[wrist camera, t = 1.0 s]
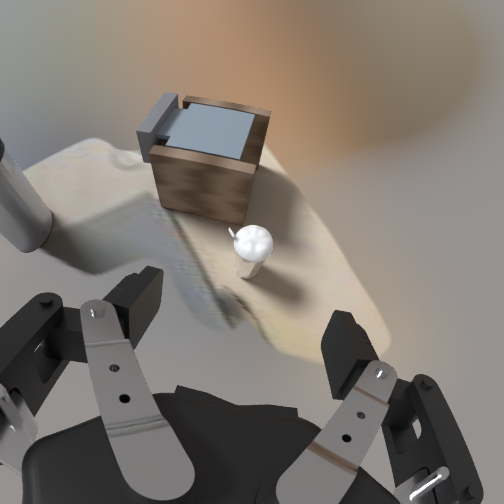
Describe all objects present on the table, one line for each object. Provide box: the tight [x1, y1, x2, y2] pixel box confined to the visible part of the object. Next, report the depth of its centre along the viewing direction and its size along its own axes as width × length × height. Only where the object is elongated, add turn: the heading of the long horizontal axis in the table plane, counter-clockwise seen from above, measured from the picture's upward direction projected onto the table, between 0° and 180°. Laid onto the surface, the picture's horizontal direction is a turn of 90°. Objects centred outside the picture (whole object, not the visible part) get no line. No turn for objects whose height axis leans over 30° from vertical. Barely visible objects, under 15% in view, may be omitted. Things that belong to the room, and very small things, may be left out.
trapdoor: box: [137, 93, 255, 163], centre depth 34 cm, size 13×9×6 cm
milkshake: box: [228, 225, 274, 279], centre depth 34 cm, size 4×5×10 cm
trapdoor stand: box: [149, 96, 271, 226], centre depth 39 cm, size 13×13×12 cm
